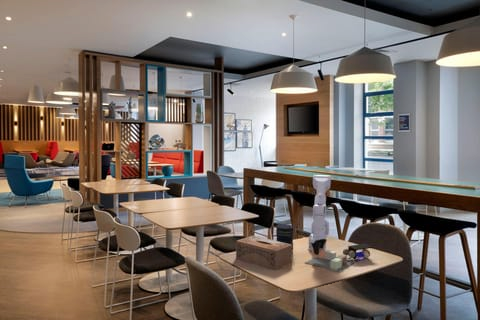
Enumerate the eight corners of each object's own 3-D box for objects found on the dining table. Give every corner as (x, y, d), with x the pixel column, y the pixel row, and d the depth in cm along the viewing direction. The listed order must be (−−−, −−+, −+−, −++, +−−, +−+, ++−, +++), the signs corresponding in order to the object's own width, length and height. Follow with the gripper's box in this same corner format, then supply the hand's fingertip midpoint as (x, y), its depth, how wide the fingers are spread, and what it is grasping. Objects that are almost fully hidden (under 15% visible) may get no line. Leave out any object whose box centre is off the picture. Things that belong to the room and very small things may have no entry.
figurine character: (351, 264, 198) (373, 259, 204) (350, 250, 197) (372, 245, 203) (342, 261, 204) (364, 255, 210) (342, 247, 203) (364, 242, 209)
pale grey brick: (322, 258, 204) (323, 250, 203) (325, 256, 206) (325, 249, 206) (333, 260, 200) (333, 253, 200) (335, 259, 202) (336, 251, 202)
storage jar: (272, 252, 213) (272, 226, 212) (281, 248, 221) (282, 223, 220) (286, 256, 207) (287, 229, 206) (296, 252, 214) (297, 226, 213)
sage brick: (336, 270, 186) (336, 262, 186) (330, 268, 188) (330, 260, 188) (341, 266, 190) (341, 259, 190) (335, 265, 192) (336, 257, 192)
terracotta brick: (311, 255, 197) (311, 248, 197) (314, 254, 199) (314, 246, 199) (321, 258, 193) (322, 250, 193) (324, 256, 195) (325, 249, 195)
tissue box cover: (291, 263, 196) (292, 244, 195) (276, 270, 185) (276, 250, 184) (252, 253, 212) (252, 235, 211) (235, 259, 201) (236, 240, 200)
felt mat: (304, 263, 196) (304, 262, 196) (323, 254, 211) (323, 253, 211) (339, 272, 184) (339, 271, 184) (355, 262, 199) (355, 261, 199)
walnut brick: (341, 266, 191) (341, 258, 191) (335, 264, 194) (336, 257, 193) (346, 263, 196) (346, 255, 196) (340, 261, 198) (341, 254, 198)
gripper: (319, 231, 187) (318, 258, 188) (332, 226, 198) (331, 252, 199) (306, 229, 191) (305, 255, 192) (320, 224, 203) (319, 249, 204)
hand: (318, 253), depth 196 cm, fingers closed on terracotta brick, 3 cm apart
